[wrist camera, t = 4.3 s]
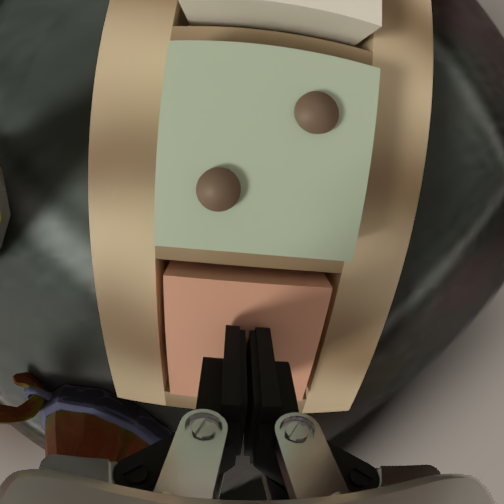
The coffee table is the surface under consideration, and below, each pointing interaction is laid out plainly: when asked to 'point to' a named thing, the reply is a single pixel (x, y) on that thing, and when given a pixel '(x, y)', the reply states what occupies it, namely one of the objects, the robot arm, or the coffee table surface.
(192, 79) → the sage tile
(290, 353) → the terracotta tile
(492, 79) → the coffee table surface
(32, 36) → the coffee table surface
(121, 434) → the mug
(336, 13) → the cream tile
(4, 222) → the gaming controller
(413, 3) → the wooden dotted tile rack
